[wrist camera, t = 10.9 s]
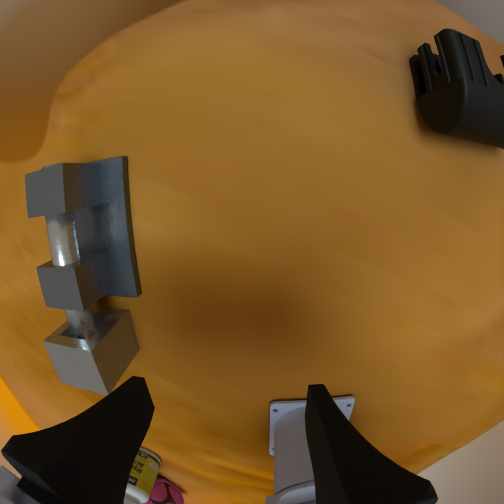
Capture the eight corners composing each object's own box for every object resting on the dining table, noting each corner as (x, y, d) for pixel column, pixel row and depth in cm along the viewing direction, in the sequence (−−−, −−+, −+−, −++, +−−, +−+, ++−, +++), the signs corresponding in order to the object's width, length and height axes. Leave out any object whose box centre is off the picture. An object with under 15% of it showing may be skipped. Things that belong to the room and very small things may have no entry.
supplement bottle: (152, 446, 26) (129, 505, 17) (167, 467, 28) (150, 520, 18) (118, 441, 27) (92, 493, 17) (135, 461, 28) (115, 510, 19)
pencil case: (154, 463, 28) (135, 516, 18) (191, 491, 30) (180, 538, 20) (73, 455, 31) (53, 490, 22) (107, 483, 33) (91, 517, 24)
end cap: (415, 138, 16) (471, 128, 10) (402, 55, 14) (445, 20, 8) (496, 154, 16) (548, 155, 9) (485, 82, 14) (532, 68, 7)
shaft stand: (154, 352, 22) (132, 390, 17) (84, 342, 22) (56, 372, 17) (127, 156, 18) (86, 153, 13) (52, 172, 18) (10, 176, 13)
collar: (139, 349, 22) (108, 395, 16) (95, 343, 22) (61, 382, 16) (129, 309, 21) (90, 351, 15) (84, 306, 21) (43, 340, 15)
